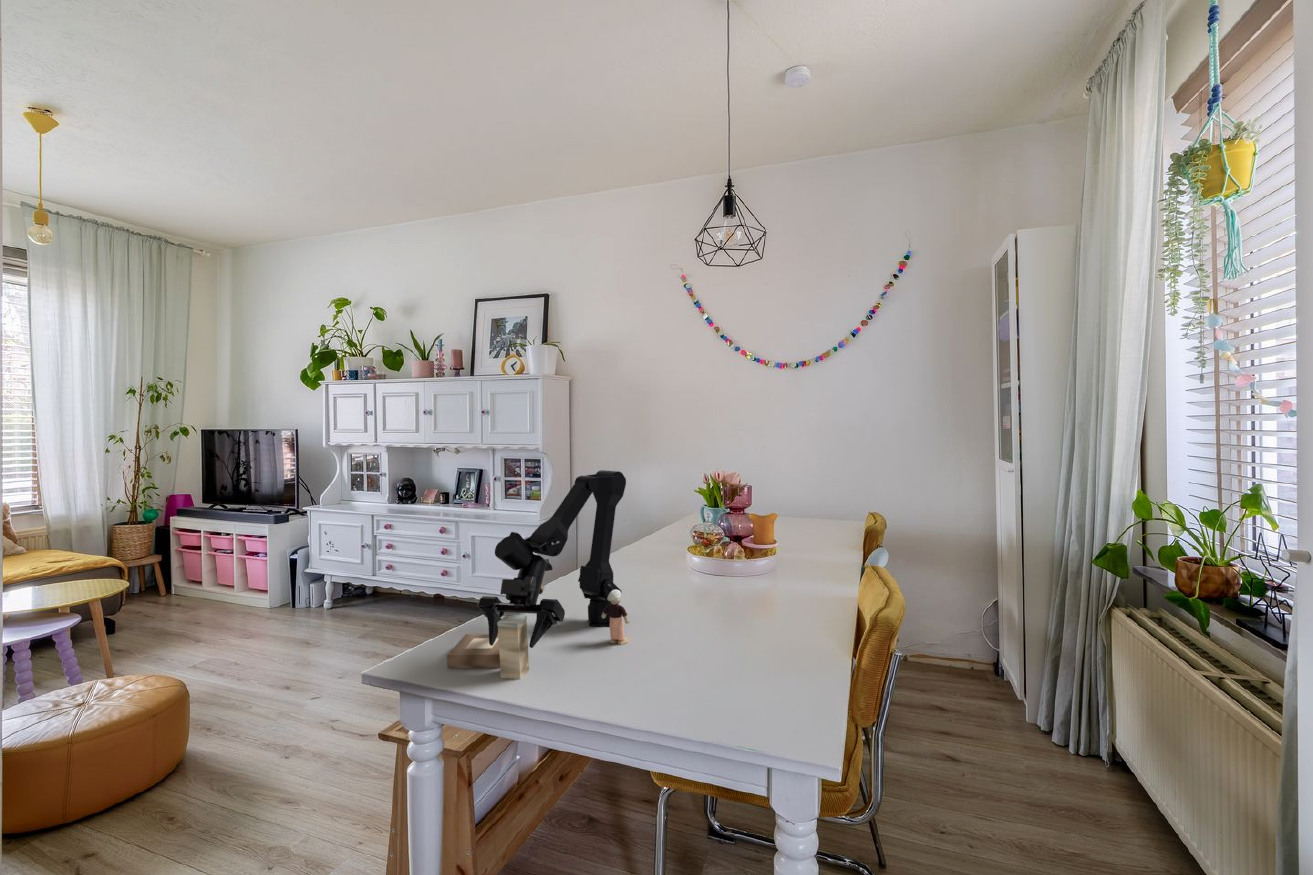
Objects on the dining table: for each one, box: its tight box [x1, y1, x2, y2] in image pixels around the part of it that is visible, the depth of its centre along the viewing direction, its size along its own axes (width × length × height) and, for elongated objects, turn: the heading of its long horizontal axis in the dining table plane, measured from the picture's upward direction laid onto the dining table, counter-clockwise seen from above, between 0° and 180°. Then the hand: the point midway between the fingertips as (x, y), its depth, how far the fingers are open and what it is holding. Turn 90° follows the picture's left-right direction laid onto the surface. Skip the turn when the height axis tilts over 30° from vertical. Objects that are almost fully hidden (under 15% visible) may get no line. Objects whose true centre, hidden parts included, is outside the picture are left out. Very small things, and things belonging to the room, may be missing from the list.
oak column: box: [497, 614, 530, 680], centre depth 141 cm, size 5×5×12 cm
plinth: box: [446, 633, 500, 669], centre depth 151 cm, size 12×12×3 cm
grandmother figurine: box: [601, 589, 630, 646], centre depth 157 cm, size 8×4×13 cm, turn 71°
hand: (510, 645), depth 140 cm, fingers open, 9 cm apart
